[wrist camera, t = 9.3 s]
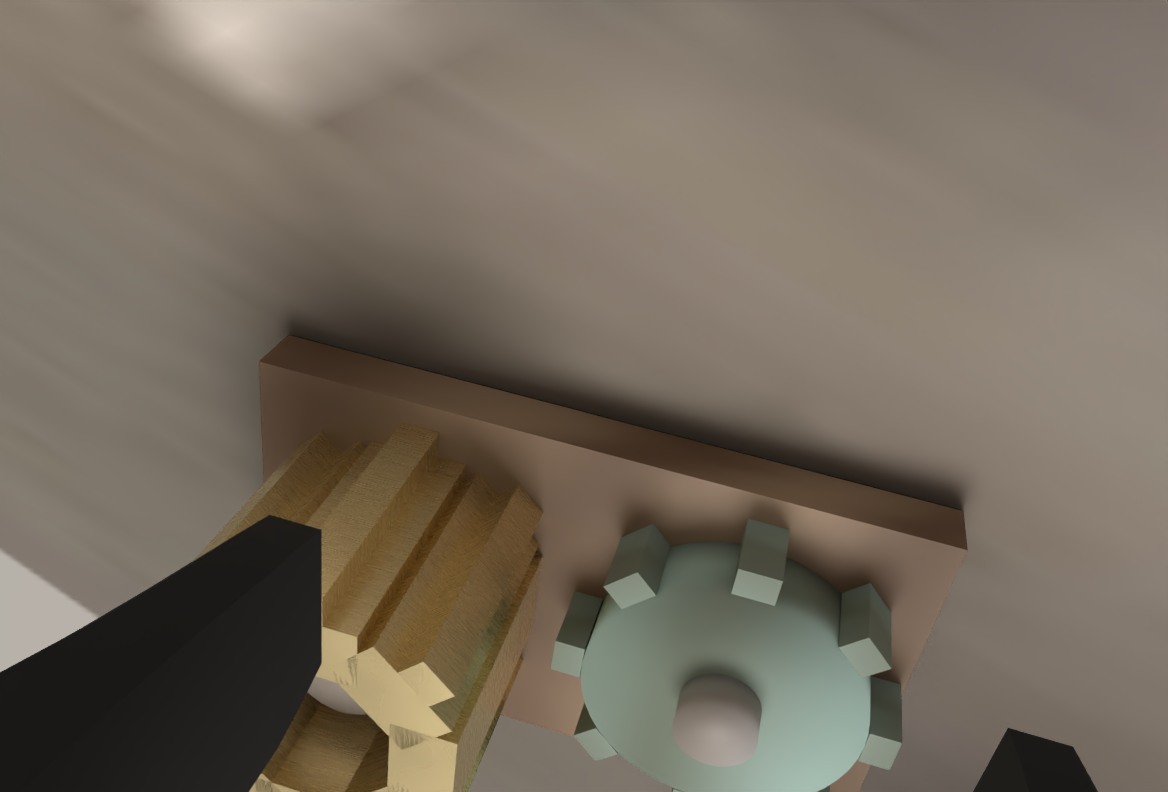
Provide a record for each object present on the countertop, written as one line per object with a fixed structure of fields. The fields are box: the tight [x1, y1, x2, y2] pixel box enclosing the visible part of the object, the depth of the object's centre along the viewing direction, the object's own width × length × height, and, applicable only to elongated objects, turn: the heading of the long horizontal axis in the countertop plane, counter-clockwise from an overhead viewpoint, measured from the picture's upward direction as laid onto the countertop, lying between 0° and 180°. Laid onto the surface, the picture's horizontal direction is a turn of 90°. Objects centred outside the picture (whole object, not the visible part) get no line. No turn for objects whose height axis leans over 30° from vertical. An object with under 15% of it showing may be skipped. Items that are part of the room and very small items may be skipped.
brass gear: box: [195, 423, 543, 792], centre depth 20 cm, size 6×7×5 cm
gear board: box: [259, 335, 967, 792], centre depth 20 cm, size 14×8×5 cm, turn 82°
